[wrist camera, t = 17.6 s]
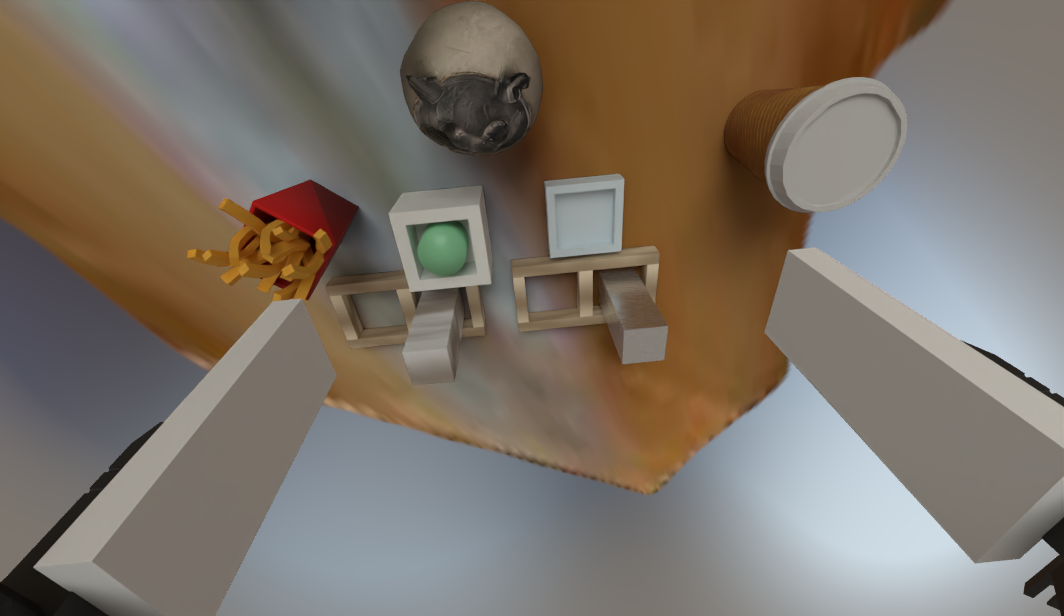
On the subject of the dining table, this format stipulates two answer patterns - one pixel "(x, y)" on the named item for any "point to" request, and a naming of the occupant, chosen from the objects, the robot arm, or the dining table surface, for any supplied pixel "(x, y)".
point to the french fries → (284, 239)
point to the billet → (631, 316)
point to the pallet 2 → (578, 284)
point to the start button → (443, 247)
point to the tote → (584, 215)
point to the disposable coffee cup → (819, 141)
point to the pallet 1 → (413, 322)
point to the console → (439, 207)
